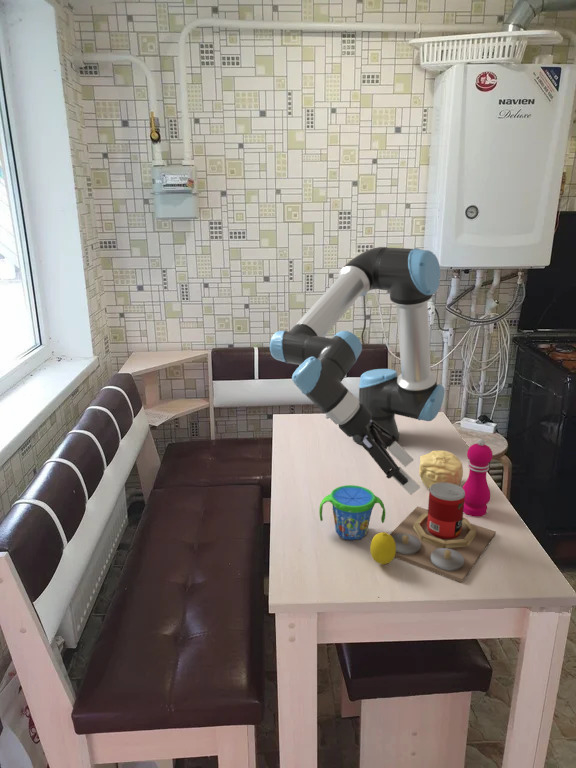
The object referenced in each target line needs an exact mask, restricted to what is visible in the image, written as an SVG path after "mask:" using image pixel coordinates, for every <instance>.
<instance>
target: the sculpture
mask: <svg viewBox="0 0 576 768" xmlns="http://www.w3.org/2000/svg"><path fill="white" fill-rule="evenodd" d="M418 473H419V477H420V480H421V481H422V483H423V485H424V487H426V488H427V489H428V490H430V487H431V485H433V484H435V483H452V484H455V485H458V486H460V485H461V483H462V480H463V477H464V468H463V463H462V462H461V460H460V458H459V457H458V456H456V455H455V454H454V453H452V452H450V451H447V450H432V451H431V452H428V453H426V454H423V455H420V457H419V468H418Z"/></svg>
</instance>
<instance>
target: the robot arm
mask: <svg viewBox="0 0 576 768" xmlns="http://www.w3.org/2000/svg"><path fill="white" fill-rule="evenodd" d="M337 277H338V278H337V279H336V280H335V281H334V282H333V283H332V284H331V285H330V287H329V288H328V289H327V290H326V291H325V292H324V293H323V294H322V295H321V296H320V298H318V300H317V301H316V302H315V303H314V304H313V305H312V306H311V307H310V308H309V309H308V311H307V312H306V313H305V314H303V316H302V317H301V318H300V319H299V320H298V322H297V323H295V325H293V327H292V328H291V329H290V330H288V331H287V330H286V329H285V330H278V331H276V332H275V333H273V335H272V337H271V338H270V342H269V352H270V355H271V356H272V358H273V359H275V360H276V361H279V362H283V363H286V364H292V365H299V366H298V367H297V368H295V371H294V372H293V373H292V376H291V381H292V383H294V385H295V386H296V387H297V389H298V390H299V391H301V393H302V394H303V395H305V396H306V398H308V400H310V401H311V402H312V403H313V404H314V405H315V406H316V407H317V408H319V409H320V410H321V411H322V413H324V414H325V419H330V420H331V421H332V422H333V423H334V424H335V425H338V428H339V429H340V431H342V432H343V433H344V434H345V435H346V436H347V437H348V438H352V440H353V441H354V442H355V443H356V444H357V445H360V446H361V447H362V448H364V450H365V451H366V452H367V453H368V454H369V455H370V456H371V458H372V459H373V460H374V462H375V463H376V464H377V465H378V467H379V468H380V469H381V470H382V472H383V473H384V475H386V476H385V478H387V479H391V478H392V479H394V480H395V481H396V482H397V483H398V485H400V486H401V487H402V488H403V489H404V490H405V491H406V492H407V493H408V494H409V495H411V496H412V495H413V494H415V493H416V492H417V491H419V489H421V485H420V484H419V483H417V482H416V481H415V480H414V479H413V478H412V476H411V475H409V473H407V472H406V471H405V470H404V469H403V467H405V468H406V467H408V466H409V465H410V464H411V463H412V462H414V461H415V459H414V458H413V457H412V456H411V455H410V454H409V452H408V451H406V450H405V449H404V448H403V447H402V446H401V445H400V444H399V443H398V442H399V440H400V432H399V428H398V425H397V422H396V419H395V418H396V417H395V415H397V416H401V417H405V418H409V419H410V418H411V419H415V420H417V421H424V422H425V421H426V422H431V421H433V420H435V418H436V417H437V415H438V414H439V412H440V410H441V407H442V404H443V401H444V397H445V387H444V386H443V385H442V384H438V383H437V376H436V375H435V373H434V372H432V370H431V369H432V368H431V367H432V365H431V352H430V351H431V348H430V327H429V326H430V325H429V324H430V323H429V306H428V305H429V304H428V302H430V301H431V299H433V295H435V293H436V292H437V291H438V289H439V287H440V279H441V267H440V262H439V259H438V257H437V255H436V254H434V252H432V251H431V250H429V249H428V250H427V249H420V248H418V247H417V248H404V247H403V248H401V247H388V246H379V247H378V246H377V247H373V248H370V249H368V250H366V251H364V252H362V253H360V254H358V255H356V256H355V257H353V258H352V259H351V260H349V261H348V262H347V263H346V264H345V265H344V266H343V267H341V269H340V270H339V272H338V276H337ZM372 290H382V291H387V292H389V300H390V301H391V302H392V304H394V305H395V306H396V307H395V309H396V318H397V321H396V322H397V330H398V331H397V333H398V334H397V335H398V343H399V356H400V357H399V358H400V368H401V369H400V371H401V372H400V374H399V375H398V372H397V371H396V370H395V369H392V368H377V369H370V370H367V371H364V372H363V373H362V374H361V375H360V378H359V386H358V389H359V390H358V398H357V396H355V395H354V393H352V392H351V391H350V390H349V389H348V388H347V387H346V386H345V384H344V383H342V381H344V378H345V377H346V376H347V374H348V373H349V371H351V369H352V367H353V366H354V365H355V364H356V363H357V360H358V358H359V356H360V355H361V353H362V351H363V345H362V342H361V340H360V338H359V337H358V336H357V335H356V334H354V333H353V332H352V331H349V330H341V331H338V332H337V333H335V334H334V335H333V336H332V338H331V337H327V336H326V335H327V334H328V333H329V332H330V331H331V330H332V329H333V327H334V326H335V325H336V324H337V323H338V322H339V321H340V319H341V318H342V317H343V316H344V315H345V313H346V312H347V311H349V309H350V308H351V307H352V305H353V304H354V303H355V302H356V301H357V300H358V298H359V297H364V296H365V295H366V294H368V293H369V291H372ZM390 453H391V454H392V456H393V457H394V458H396V459H397V461H399V463H400V464H401V465H403V467H401V466H398V465H397V463H396V462H395V460H394V459H393V457H392V456H391V454H390Z"/></svg>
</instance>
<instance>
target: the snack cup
mask: <svg viewBox="0 0 576 768" xmlns="http://www.w3.org/2000/svg"><path fill="white" fill-rule="evenodd" d="M328 502H329V503H331V505H332V513H333V521H334V530H335V533H336V534H337V535H338V536H339V537H340V538H342V539H343V540H349V541H355V540H360V541H361V540H362V539H363V538H364V537H365V536H366V535H367V533H368V530H369V527H370V526H369V525H370V520H371V515H372V511H373V510H374V507H375V504H379V505H380V508H382V512H381V513H382V514H381V517H380V519H381V523H382V524H383V523H384V522H385V520H386V507H385V504H384V502H383V501H382V499H381V498H380V497H378V496H377V495H375V493H374V492H373V491H372V490H371V489H368V488H366V487H363V486H359V485H354V484H351V485H349V484H348V485H347V484H346V485H341V486H338V487H335V488H334V489H333V490H332V491H331V493H329V494H327V495H326V496H325V497H324V498H322V500H321V501H320V505H319V507H318V508H319V510H318V511H319V512H318V513H319V520H320V522H323V520H324V519H323V506H324V505H325V504H326V503H328Z"/></svg>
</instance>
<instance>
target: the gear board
mask: <svg viewBox="0 0 576 768" xmlns="http://www.w3.org/2000/svg"><path fill="white" fill-rule="evenodd" d="M404 518H405V519H403V520H402V522H400V523H399V524H398V525H397V526H396V527H395V529H393V531H391V532H390V533H389V534H390V535H391V536H392V537H393V539H394V541H395V544H396V553H395V557H394V559H398V560H400V561H403V562H406V563H409V564H411V565H413V566H417V567H418V568H421V569H424V570H427V571H430V572H432V573H434V572H435V573H434V574H437V573H438V575H440V574H441V575H440V576H442V575H443V577H445V578H447V579H450V578H451V580H453V579H454V580H453V581H455V580H457V581H456V582H458V581H459V582H458V583H460V584H463V583H464V581H465V580H466V578H467V577H468V575H469V574H470V573H469V572H471V571H472V569H474V567H475V565H476V564H477V563H478V562H479V560H480V558H481V557H480V556H482V555H483V554H484V553H485V551H486V549H487V548H488V546H489V545H490V544H489V543H491V542H492V541H493V539H494V538H495V536H496V533H497V531H495V530H493V529H489V528H486V527H483V526H480V525H477V524H475V523H471V522H470V521H469V520H468V519H467V518H466V517H464V516H463V519H462V529H461V533H460V535H459V536H458V537H456V538H454V539H441V538H438V537H435V536H433V535H432V534H431V533H430V532H429V531H428V528H427V518H428V508H424V507H420V506H416V507H415V508H414V509H413V510H412V511H411V512H410V513H409V515H407V516H406V517H404ZM462 582H463V583H462Z"/></svg>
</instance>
